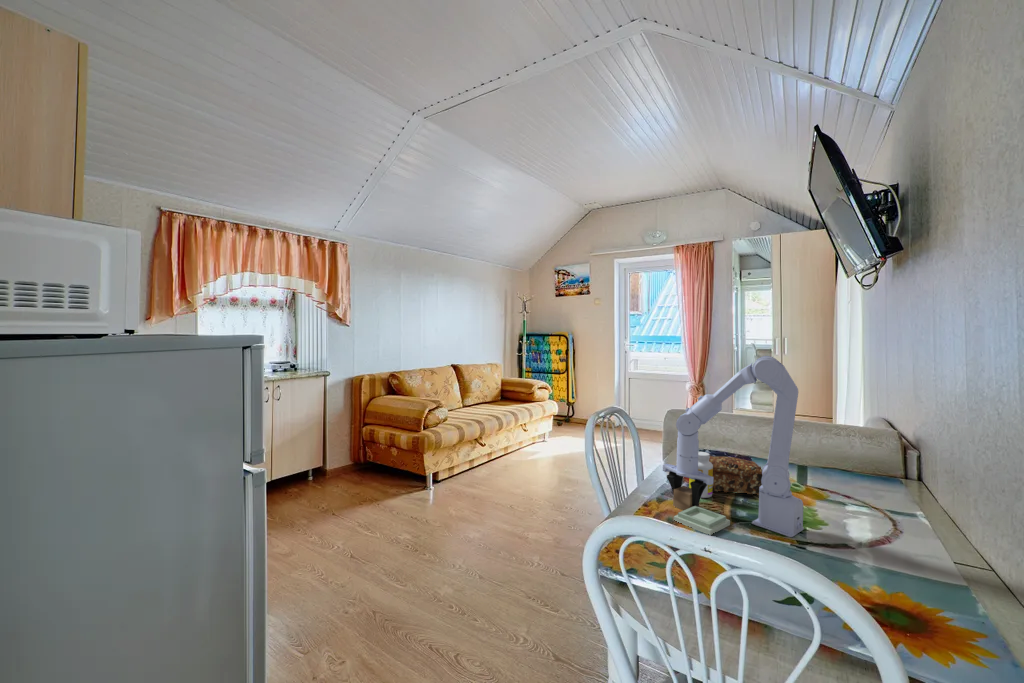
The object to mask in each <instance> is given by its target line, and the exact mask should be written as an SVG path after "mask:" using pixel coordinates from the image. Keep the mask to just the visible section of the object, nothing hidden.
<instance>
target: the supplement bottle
mask: <svg viewBox="0 0 1024 683" xmlns="http://www.w3.org/2000/svg"><path fill="white" fill-rule="evenodd" d="M710 456H711V454H710V453H709V452H705V451H699V452H698V471H700V472H702V473H704V474H706V475H709V476H712V477H713V465H712V463H711V462H709V458H710ZM688 480H689V482H688V487H689V488H691V485H690V482H693V481H695V480H693V479H690V478H688ZM713 492H714V491H713V484H712V485H707V486H706V488H705V489H704V491H703V493H702V495H701V498H702V499H708V498H712V496H713ZM701 498H700V499H701Z"/></svg>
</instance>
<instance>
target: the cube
mask: <svg viewBox="0 0 1024 683" xmlns="http://www.w3.org/2000/svg"><path fill="white" fill-rule="evenodd" d="M672 502H673V503H672V504H673V506H675V507H674V508H676V507H677V508H676V509H678V508H679V510H682V511H684V510H686V509H688V508H691V507H693V506H692V489H691V488H689V486H684V485H681V487H679V488H676V489H674V495H673V501H672ZM673 506H672V507H673ZM698 507H700V504H699V505H698Z"/></svg>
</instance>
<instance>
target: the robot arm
mask: <svg viewBox="0 0 1024 683" xmlns="http://www.w3.org/2000/svg"><path fill="white" fill-rule="evenodd" d="M757 381H759V382H762V383H763V384H765V385H766V386H768V387H769V388H770V389H771V390H772V391H773V392H774V393H775V394H776V400H775V401H776V402H775V408H774V413H773V414H774V416H773V421H772V422H773V423H772V430H771V435H770V436H771V437H770V443H769V451H768V456H767V462H766V463H765V465H763V467H762V468H761V469H762V479H761V483H762V486H760V487H759V495H758V517H757V518H756V519H754V520H752V521H751V524H752V525H755V526H757V527H760V528H763V529H766V530H769V531H770V532H771V531H772V532H775V533H777V534H780V535H782V536H787V537H789V538H792V537H795V536H796V535H797V534H798V533H800V532H802V531H803V530H804V526H803V524H804V503H803V499H801V498H799V497H796V496H794V495H793V493H792V490H791V486H792V485H791V484H792V483H791V481H790V471H789V465H790V464H789V462H790V454H791V447H792V440H793V434H794V433H793V432H794V426H795V418H796V411H797V404H798V399H799V398H798V397H799V388H798V386H797V384H796V383H795V381H794V380H793V378H792V377H791V375H790V373H789V372H788V370H787V369H786V367H785V365H784V364H783V363H781V361H779V360H777V359H776V358H775V357H774V356H771V355H762V356H760V357H759V358H757V359H756V360H755V361H754V362H751V363H750V364H747V365H746V366H745V367H743V368H741V369H740V370H739V371H737V372H736V373H735V374H734V375H733V376H731V378H730V379H729V380H728V381H726V382H725V383H724V384H723V385H722V386H721V387H720V388H719V389H718V390H716V391H715V392H714V393H712V394H711V393H710V394H709V393H708V394H707V393H706V394H704V395H700V396H698V398H697V401H696V402H695V403H694V404H692V405H691V406H690V407H686V408H685V412H684V413H683V414H680V415H679V417H678V418H677V420H676V423H675V426H676V429H677V439H676V441H677V442H676V464H675V465H674V464H669V463H663V464H662V472H664V473H668V474H667V475H666V479H667V481H668V484H669V486H670V487H671V490H672V494H673V496H674V489H676V488H679V487H682V486H683V485H682V484H683V478H687V479H689V478H690V479H693V480H695V481H693V482H690V485H691V489H692V506H698V505H699V506H700V501H701V495H702V493H703V491H704V489H705V488H706V486H707V485H712V484H713V479H714V477H712V476H709V475H706V474H704V473H702V472H700V471H698V452H700V451H699V449H700V448H699V447H700V446H699V444H700V443H699V442H700V440H699V429H700V428H701V426H702V425H705V424H707V423H708V422H709V421H710V420H711V419H712V418H714V417H715V416H716V415H718V414H719V413H720V412H721V411H722V409H723V406H722V403H724V402H725V401H726V400H727V399H728V398H729V397H731V396H732V395H733V394H735V393H736V392H737V391H739V390H740V389H741V388H742V387H743V386H745V385H749V384H754V383H757Z"/></svg>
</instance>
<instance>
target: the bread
mask: <svg viewBox="0 0 1024 683" xmlns="http://www.w3.org/2000/svg"><path fill="white" fill-rule="evenodd" d="M709 462H711V463H712V465H713V477H714V479H713V491H712V492H718V491H724V492H723V493H727V492H737V493H747V494H746V495H753V494H757V495H756V496H759V487H760V486H762V483H761V479H762V469H763V468H762V467H761V466H759V464H757V463H756V462H755V461H753V460H746V459H742V458H738V457H734V456H733V457H732V456H720V455H719V456H718V455H717V456H712V455H710V458H709Z"/></svg>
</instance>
